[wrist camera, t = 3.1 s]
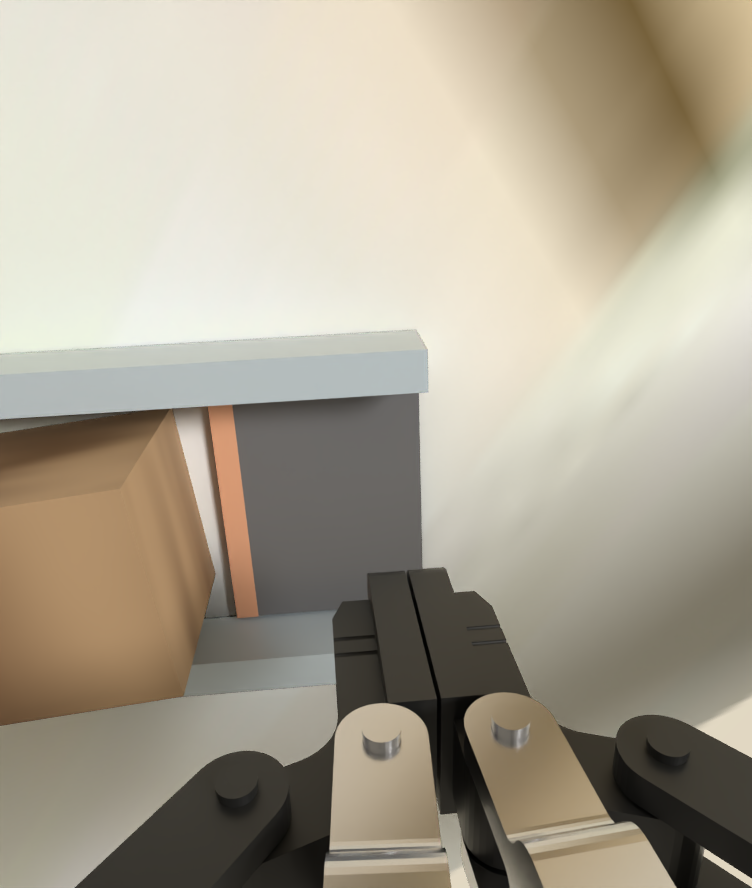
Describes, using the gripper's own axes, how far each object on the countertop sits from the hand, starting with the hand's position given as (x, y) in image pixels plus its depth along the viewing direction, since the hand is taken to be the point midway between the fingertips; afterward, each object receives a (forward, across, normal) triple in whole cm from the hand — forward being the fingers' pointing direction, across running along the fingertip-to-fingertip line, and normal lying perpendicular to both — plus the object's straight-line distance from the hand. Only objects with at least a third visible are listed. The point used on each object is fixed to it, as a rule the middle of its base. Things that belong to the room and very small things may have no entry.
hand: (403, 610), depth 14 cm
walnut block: (+6, +9, 0) cm, 11 cm away
